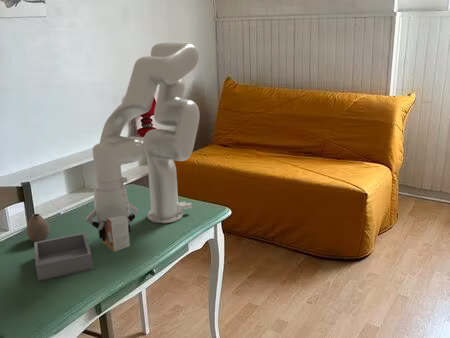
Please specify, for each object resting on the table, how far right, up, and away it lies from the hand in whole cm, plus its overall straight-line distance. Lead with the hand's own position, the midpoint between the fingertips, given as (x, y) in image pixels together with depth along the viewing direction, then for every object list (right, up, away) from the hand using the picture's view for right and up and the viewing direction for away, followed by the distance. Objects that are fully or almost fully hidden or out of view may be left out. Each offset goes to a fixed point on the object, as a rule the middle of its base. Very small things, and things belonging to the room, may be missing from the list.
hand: (115, 236), depth 144 cm
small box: (0, -3, +1) cm, 3 cm away
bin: (-13, -6, -9) cm, 17 cm away
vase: (-26, -2, +5) cm, 26 cm away
